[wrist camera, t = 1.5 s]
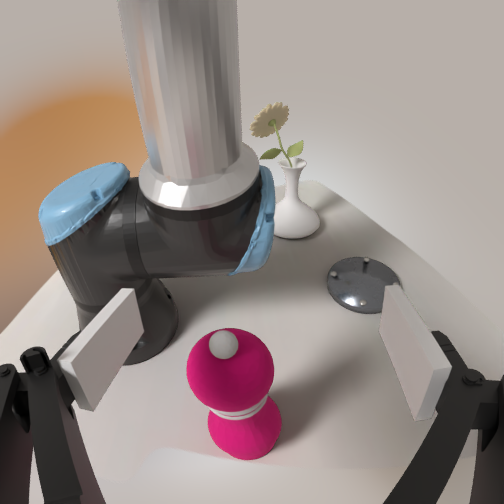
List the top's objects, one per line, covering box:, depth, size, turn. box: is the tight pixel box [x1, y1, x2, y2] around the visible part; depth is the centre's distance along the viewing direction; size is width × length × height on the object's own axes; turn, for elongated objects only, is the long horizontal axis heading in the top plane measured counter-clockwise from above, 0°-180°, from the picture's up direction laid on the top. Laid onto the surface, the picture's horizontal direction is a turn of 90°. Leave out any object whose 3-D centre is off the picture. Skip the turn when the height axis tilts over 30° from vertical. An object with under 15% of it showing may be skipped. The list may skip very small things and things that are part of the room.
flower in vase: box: [250, 102, 320, 238], centre depth 56 cm, size 13×11×25 cm
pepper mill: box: [187, 328, 282, 460], centre depth 25 cm, size 7×7×20 cm
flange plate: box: [327, 257, 400, 314], centre depth 49 cm, size 12×12×2 cm
